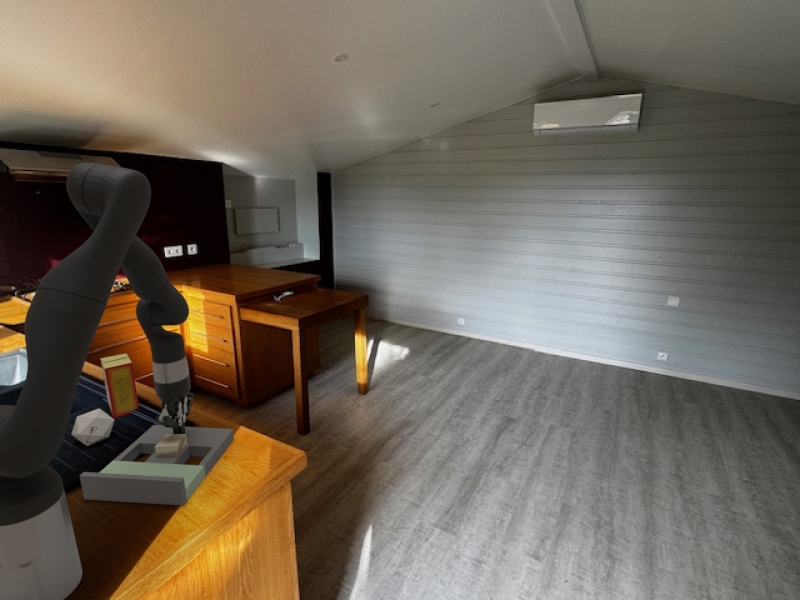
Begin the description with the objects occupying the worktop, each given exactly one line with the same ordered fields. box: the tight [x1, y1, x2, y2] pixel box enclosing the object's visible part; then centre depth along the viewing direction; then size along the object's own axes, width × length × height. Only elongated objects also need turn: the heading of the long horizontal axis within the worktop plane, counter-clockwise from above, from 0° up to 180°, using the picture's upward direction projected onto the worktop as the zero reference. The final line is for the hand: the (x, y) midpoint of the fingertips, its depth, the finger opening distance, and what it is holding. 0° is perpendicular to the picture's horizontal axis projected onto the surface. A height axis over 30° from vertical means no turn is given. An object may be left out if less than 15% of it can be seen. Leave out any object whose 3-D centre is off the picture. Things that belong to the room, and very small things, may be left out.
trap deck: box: [79, 424, 235, 506], centre depth 97 cm, size 24×22×6 cm
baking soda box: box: [99, 352, 140, 419], centre depth 121 cm, size 10×6×16 cm
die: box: [71, 408, 115, 447], centre depth 106 cm, size 8×9×10 cm
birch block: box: [155, 434, 187, 457], centre depth 98 cm, size 5×5×3 cm
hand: (180, 436), depth 103 cm, fingers closed
